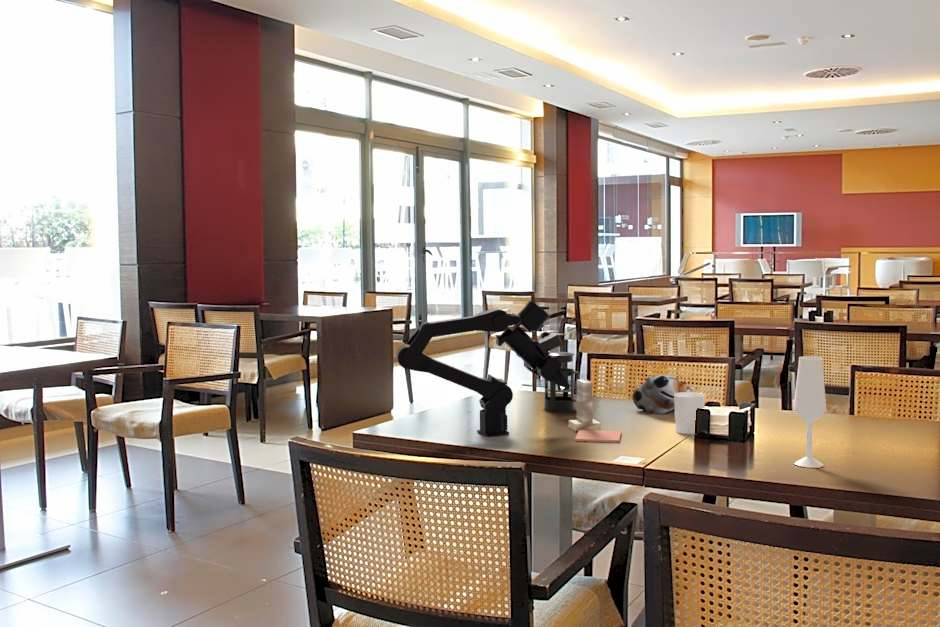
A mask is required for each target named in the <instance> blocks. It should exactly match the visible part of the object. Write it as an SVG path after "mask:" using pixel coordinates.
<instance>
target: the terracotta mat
mask: <svg viewBox="0 0 940 627" xmlns="http://www.w3.org/2000/svg"><path fill="white" fill-rule="evenodd" d="M621 436H622V430H601V431H599V430H579V431H578V432H576V436H575V438H574V441H575V442H584V441H586V443H587V442H589V443H590V442H591V443H614V444H615V443H616V444H617V443H618V444H619V443H620V440H621Z"/></svg>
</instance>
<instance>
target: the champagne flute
mask: <svg viewBox="0 0 940 627" xmlns="http://www.w3.org/2000/svg"><path fill="white" fill-rule="evenodd" d="M796 374H797V375H796V382H795V383H796V384H795V390H794V391H795V392H794V398H793V399H794V400H793V409H794V411H795V412H796V414H797V415H798V416H799V417H800V418H801V419H802V420H804V422H806V435H805V437H806V439H805V440H806V441H805V445H806V446H805V447H806V448H805V456H804V457H802V458H800V459H798V460H797V461H795V463H794V462H793V463H794V464H795V465H798V466H802V467H803V466H804V467H820V466H822V465H824V464H823V463H822V462H820V461H818V460H817V459H816V458H814V456H813V422H815V421H817V420H818V419H819V418H821V417H822V416H823V414H824V413H825V412H826V410H827V401H826V390H825V378H824V376H825V375H824V366H823V357H820V356H805V355H804V356H799V357H798V366H797V372H796Z"/></svg>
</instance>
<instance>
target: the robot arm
mask: <svg viewBox="0 0 940 627" xmlns="http://www.w3.org/2000/svg"><path fill="white" fill-rule="evenodd" d="M550 318H551V317H550V315H549V314H548V312H546V311H545V309H544V308H542V307H540V306H539V305H538V304H537V303H536V302H534V301H533V300H530V299H529V300H528V302H527V303H526V304H525V306H524V307H523V308H522V309H521V310H520V311H519V312H518V313H517V314H516V313H507V312H506V311H505V310H503V309H501V308H495V307H494V308H490V309H488V310H484V311H481V312H479V313H477V314H475V315H471V316H464V317H456V318H450V319H443V320H437V321H425V322H422V323H421V324H420V326H419V327H418V329H417V330H416V331H415V333H414V334H412V336H411V337H410V338H409V339H408V341H407V342H406V343H405V344H402V345H400V346H399V347H397V350H396V353H395V359H396V360H397V362H398V364H399V366H400V367H401V368H403V369H405V370H410V371H416V372H421V373H428V374H431V375H433V376H435V377H439V379H443V380H446V381H448V382H451V383H453V384H456V385H458V386H461V387H463V388H466V389H468V390H471V391H473V392H475V393H477V394H479V395H480V396H482V397H481V398H480V399H479V400H478V401H479V402H478V403H479V404H480V407H481V408H482V409H479V429H478V430H476V432H477V433H478V434H481V435H483V436H487V437H494V436H501V435H508V434H510V431H508V414H507V406H508V405H509V404H510V403H511V402H512V400H513V397H514V395H513V394H514V393H513V390H512V388H511V387H510V386H509V385H508V384H507V382H506V381H505V380H503V379H502V378H496V377H495V376H493V375H491V373H488V374H487V378H486V377H485V378H484V377H479V376H477V375H474V374H472V373H469V372H467V371H464V370H462V369H459V368H457V367H454V366H452V365H449V364H448V363H445V362H443V361H439V360H438V359H434V358H432V357H430V356H429V355H428V354H426V353H425V352H424V351H425V349H426V348H427V346H428V344H429V342H430V341H431V340H432V339H433V338H434V337H435V338H437V337H441V336H450V335H456V334H462V333H469V332H474V331H475V332H493V333H500V332H501V334H496V335H495V344H496V345H497V346H498V347H502V346H503V344H504V343H505V344H506V345H507V347H509V348H510V349H511V350H512V351H513V352H514V353H515V355H516V356H517V357H518V358H520V359H521V360H522V361H523V367H524V368H526V370H528V371H529V372H531V373H533V374H535V375H537V376H538V377H540V378H542V379H543V380H544V381H545V380H547V381H548V382H549V383H550V382H552V383H554V384H556V386H558V385H559V386H562V387H564V388H566V389H568V388H569V387H571V384H570V383H569V381H568V382H567V380H566V378H565V377H564V375H563V374H562V372H561V368H562V366H563V363H562V361H561V360H560V359H559V358H558V357H556V356H548V355H549V354H550V352H551V351H552V350H554V349H557V348H559V347H560V348H561V346H563V344H564V343H563V341H562V339H560V337H559V334H558V333H557V332H551V333H549V332H548V331H546V330H545V331H543V332H541V333H540V338H539V339H538V340H536V339H533V338H532V337H531V336H530V335H529V334H528V333H531V332H533V333H536V332H537V331H538V330H539V329H540V328H541V327H542V326H543V325H544V324H545V323H546V322H547V320H548V319H550ZM509 326H510V327H509ZM523 329H524V330H523ZM525 330H526V331H525ZM527 332H528V333H527Z"/></svg>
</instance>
